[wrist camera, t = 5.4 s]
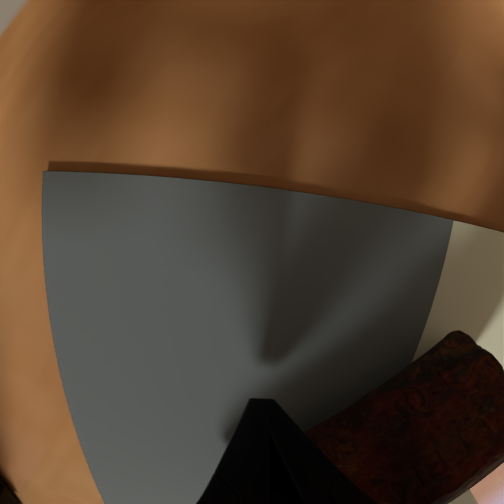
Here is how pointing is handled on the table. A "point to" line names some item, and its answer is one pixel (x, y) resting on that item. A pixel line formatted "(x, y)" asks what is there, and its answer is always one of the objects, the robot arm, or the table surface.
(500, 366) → the brick
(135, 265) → the grey mat
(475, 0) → the table surface
